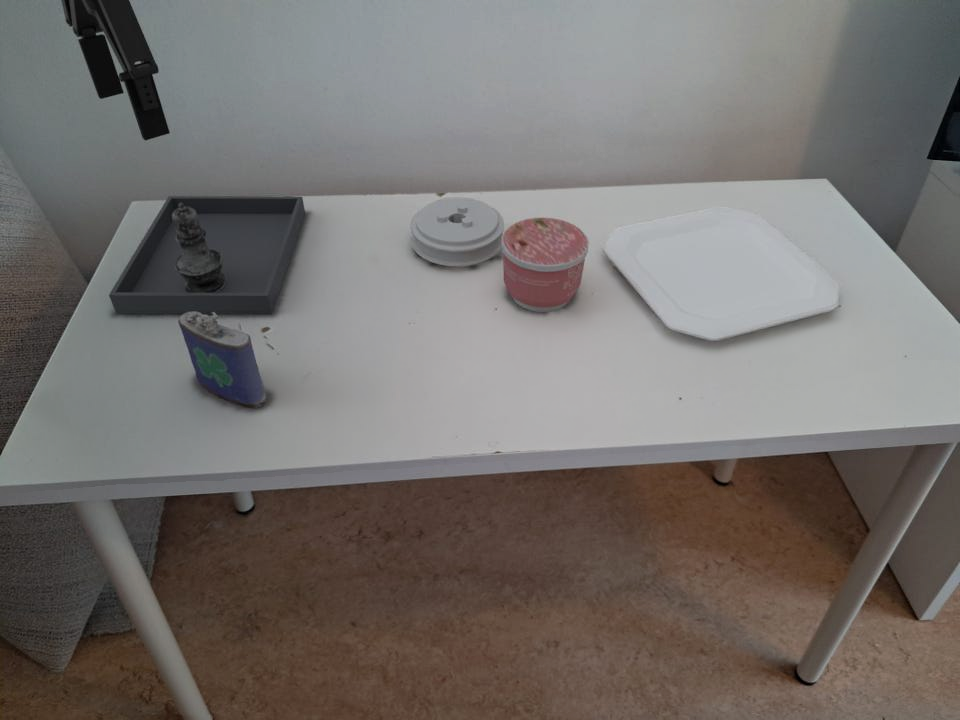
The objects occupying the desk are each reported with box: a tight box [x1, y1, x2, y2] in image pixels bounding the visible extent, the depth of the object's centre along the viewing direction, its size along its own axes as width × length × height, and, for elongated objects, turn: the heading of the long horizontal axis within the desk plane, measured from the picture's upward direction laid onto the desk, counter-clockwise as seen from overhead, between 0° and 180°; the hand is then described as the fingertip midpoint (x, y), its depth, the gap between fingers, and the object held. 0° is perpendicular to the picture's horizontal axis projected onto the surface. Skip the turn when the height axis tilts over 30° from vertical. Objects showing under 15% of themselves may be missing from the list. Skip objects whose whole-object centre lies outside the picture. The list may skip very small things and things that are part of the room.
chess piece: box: [172, 202, 227, 293], centre depth 89 cm, size 6×6×12 cm
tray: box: [108, 195, 306, 315], centre depth 97 cm, size 23×19×3 cm
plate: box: [602, 205, 842, 342], centre depth 95 cm, size 25×25×2 cm
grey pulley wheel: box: [410, 196, 505, 267], centre depth 99 cm, size 13×13×5 cm
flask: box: [177, 311, 268, 409], centre depth 76 cm, size 9×3×11 cm, turn 61°
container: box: [501, 217, 590, 313], centre depth 90 cm, size 10×10×8 cm
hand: (132, 114), depth 82 cm, fingers open, 13 cm apart
